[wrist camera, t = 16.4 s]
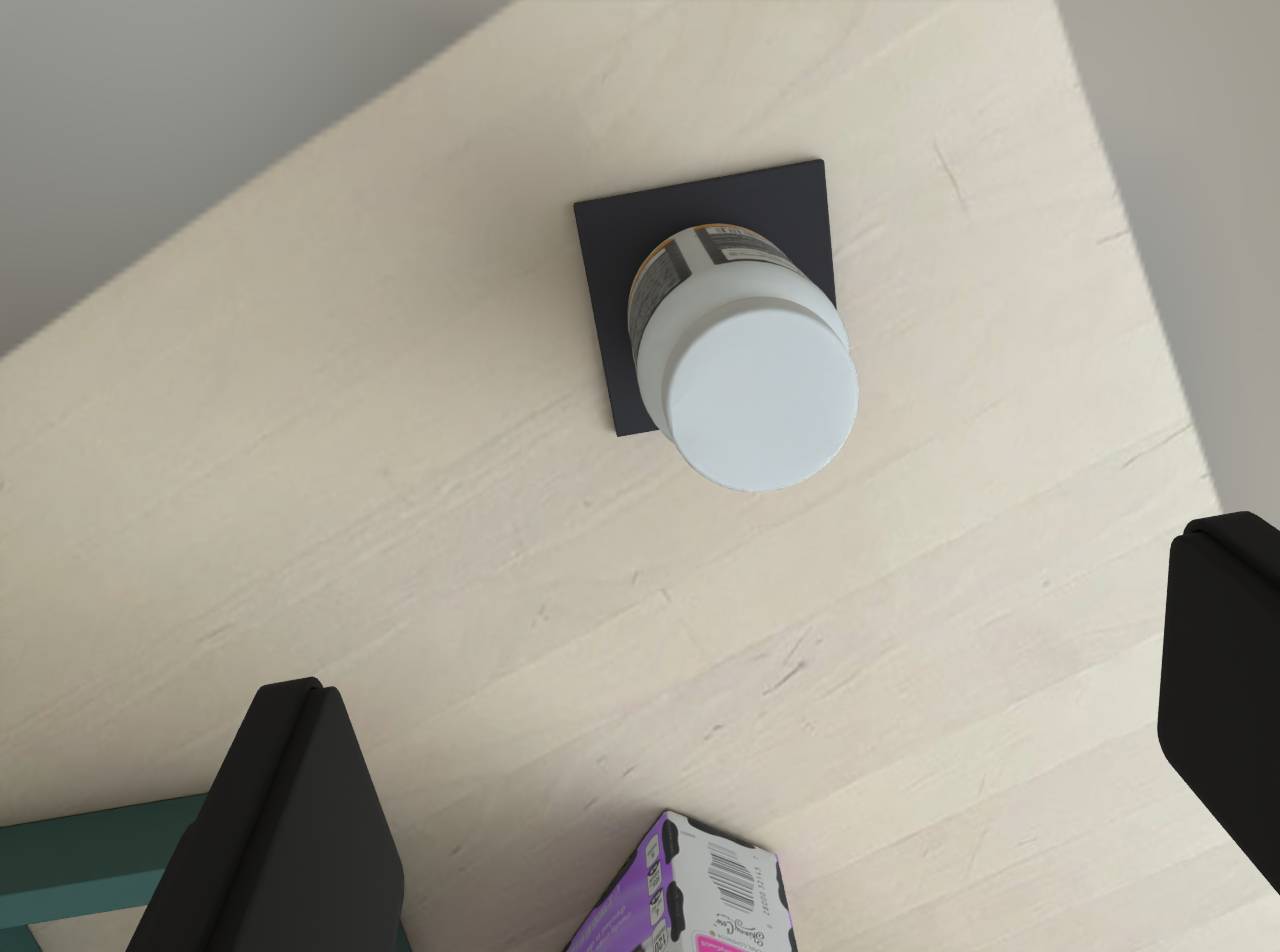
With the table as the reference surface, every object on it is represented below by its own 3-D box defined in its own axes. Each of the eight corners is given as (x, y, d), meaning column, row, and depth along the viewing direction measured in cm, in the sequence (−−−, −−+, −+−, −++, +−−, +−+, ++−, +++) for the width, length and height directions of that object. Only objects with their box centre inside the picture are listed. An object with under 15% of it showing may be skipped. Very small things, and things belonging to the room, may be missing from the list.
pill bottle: (683, 418, 34) (719, 555, 25) (592, 279, 32) (595, 372, 22) (827, 331, 33) (921, 440, 24) (744, 182, 31) (812, 238, 22)
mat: (616, 433, 34) (617, 437, 34) (573, 203, 31) (573, 204, 31) (841, 394, 34) (844, 398, 34) (821, 158, 31) (824, 160, 30)
